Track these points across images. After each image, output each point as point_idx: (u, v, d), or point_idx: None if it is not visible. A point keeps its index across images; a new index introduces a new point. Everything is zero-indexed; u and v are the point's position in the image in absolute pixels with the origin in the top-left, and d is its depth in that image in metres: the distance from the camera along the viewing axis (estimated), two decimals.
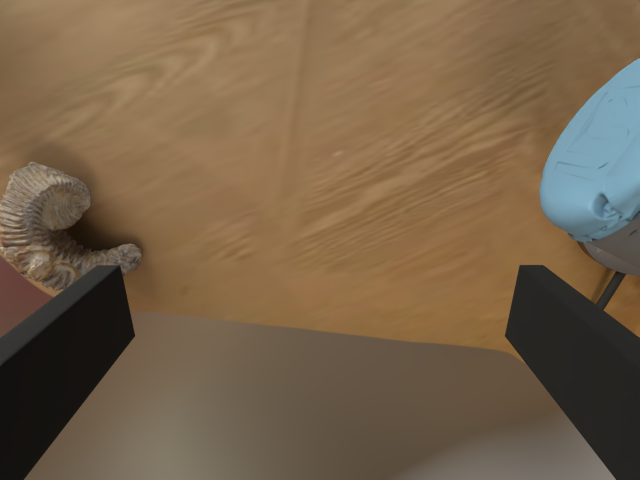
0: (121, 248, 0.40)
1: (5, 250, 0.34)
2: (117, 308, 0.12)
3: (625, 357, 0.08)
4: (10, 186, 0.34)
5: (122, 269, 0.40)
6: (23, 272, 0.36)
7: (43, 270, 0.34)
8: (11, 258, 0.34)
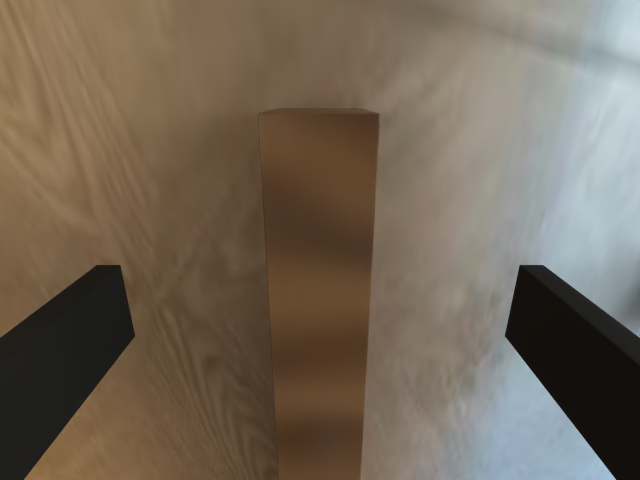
0: None
1: None
2: (117, 308, 0.12)
3: (625, 357, 0.08)
4: None
5: None
6: None
7: None
8: None
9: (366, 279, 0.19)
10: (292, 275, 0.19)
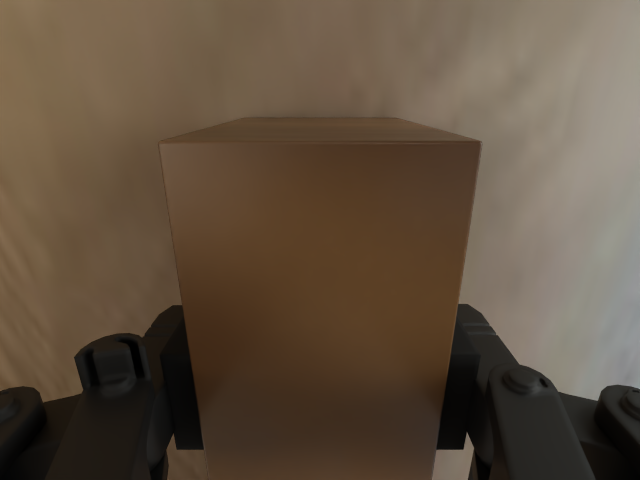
0: None
1: None
2: None
3: None
4: None
5: None
6: None
7: None
8: None
9: None
10: (262, 479, 0.09)
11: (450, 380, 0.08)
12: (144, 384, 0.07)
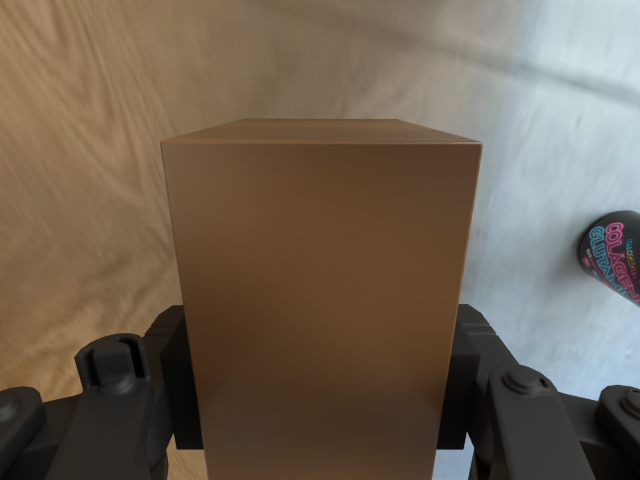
0: None
1: None
2: None
3: None
4: None
5: None
6: None
7: None
8: None
9: None
10: None
11: (450, 380, 0.08)
12: (144, 384, 0.07)
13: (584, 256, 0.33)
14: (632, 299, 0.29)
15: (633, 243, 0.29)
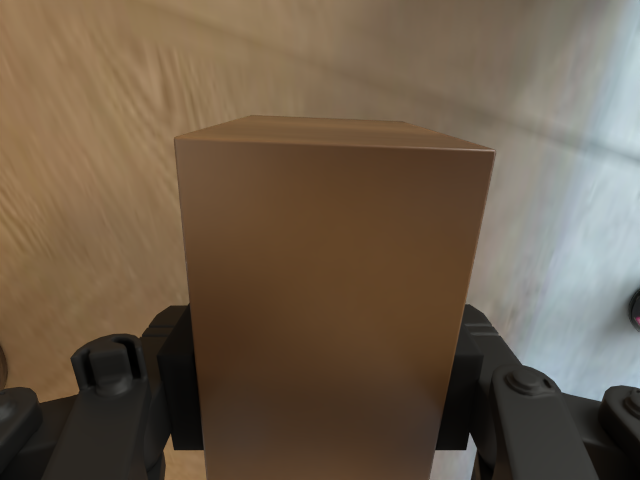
0: None
1: None
2: None
3: None
4: None
5: None
6: None
7: None
8: None
9: None
10: (260, 478, 0.09)
11: (453, 381, 0.08)
12: (141, 385, 0.07)
13: (637, 316, 0.35)
14: None
15: None
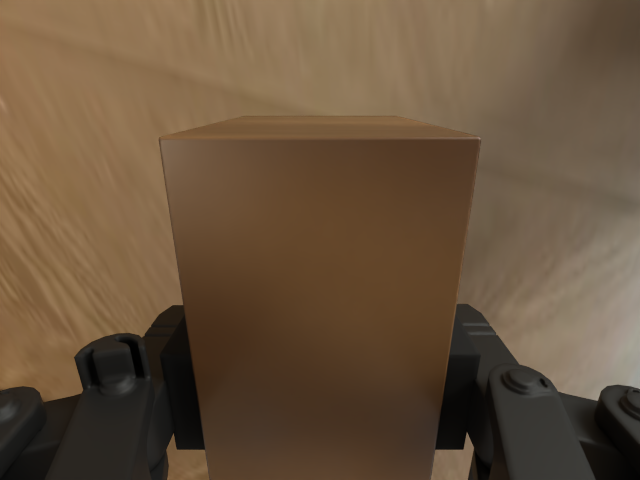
0: None
1: None
2: None
3: None
4: None
5: None
6: None
7: None
8: None
9: None
10: (262, 475, 0.09)
11: (450, 380, 0.08)
12: (144, 384, 0.07)
13: None
14: None
15: None
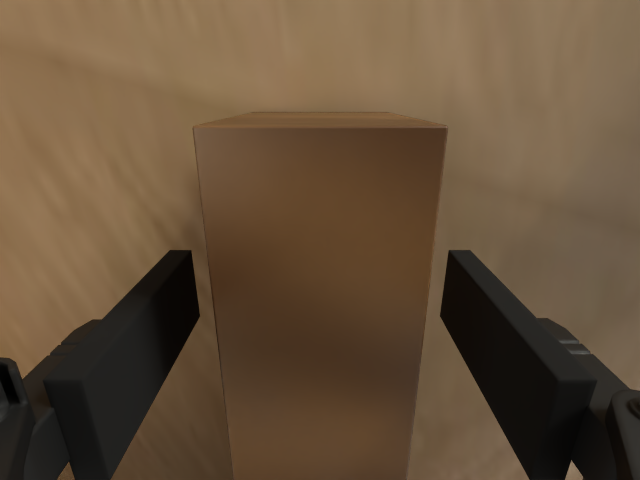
0: None
1: None
2: (189, 289, 0.13)
3: (509, 324, 0.09)
4: None
5: None
6: None
7: None
8: None
9: (405, 422, 0.10)
10: (271, 415, 0.10)
11: (560, 407, 0.07)
12: (19, 410, 0.07)
13: None
14: None
15: None
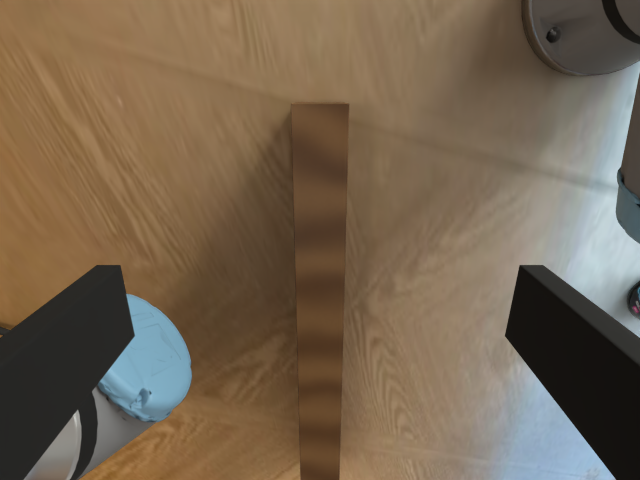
0: None
1: None
2: (117, 308, 0.12)
3: (625, 357, 0.08)
4: None
5: None
6: None
7: None
8: None
9: (344, 190, 0.37)
10: (306, 187, 0.37)
11: None
12: None
13: (633, 305, 0.48)
14: None
15: None
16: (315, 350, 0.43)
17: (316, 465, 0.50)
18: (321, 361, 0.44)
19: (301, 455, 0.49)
